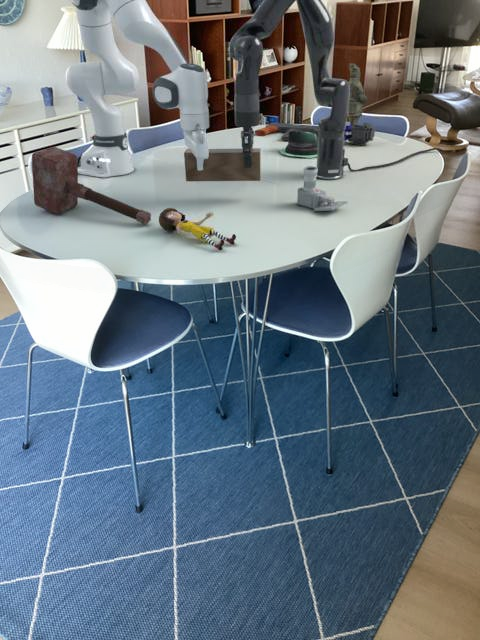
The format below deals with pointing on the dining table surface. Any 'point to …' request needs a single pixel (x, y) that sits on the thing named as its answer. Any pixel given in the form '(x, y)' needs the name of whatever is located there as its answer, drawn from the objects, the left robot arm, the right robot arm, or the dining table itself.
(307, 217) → the dining table surface
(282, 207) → the dining table surface
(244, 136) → the right robot arm
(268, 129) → the submachine gun
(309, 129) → the green brimmed hat
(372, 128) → the toy
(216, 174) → the bar
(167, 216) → the figurine
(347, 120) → the statue
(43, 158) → the sledgehammer
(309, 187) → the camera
